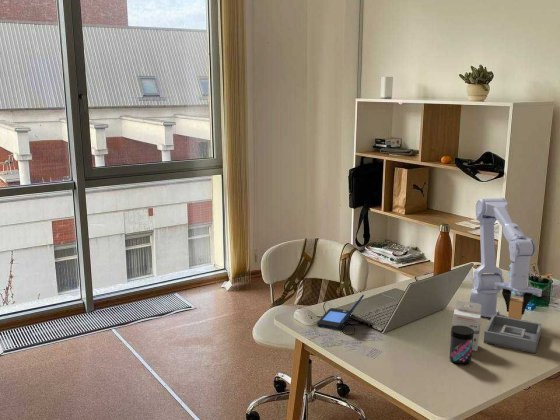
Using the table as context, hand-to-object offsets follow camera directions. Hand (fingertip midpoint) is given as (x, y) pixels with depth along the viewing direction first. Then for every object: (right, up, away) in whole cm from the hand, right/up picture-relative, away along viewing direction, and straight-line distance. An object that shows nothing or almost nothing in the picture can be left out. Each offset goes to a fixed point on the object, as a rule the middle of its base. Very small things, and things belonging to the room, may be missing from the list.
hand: (515, 312), depth 191 cm
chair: (+19, 0, +45) cm, 49 cm away
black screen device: (-58, -7, +16) cm, 60 cm away
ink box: (-19, -11, -4) cm, 22 cm away
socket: (0, -9, +2) cm, 10 cm away
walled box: (0, -9, +2) cm, 10 cm away
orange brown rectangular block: (0, -2, +1) cm, 2 cm away
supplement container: (-23, -13, -14) cm, 30 cm away
